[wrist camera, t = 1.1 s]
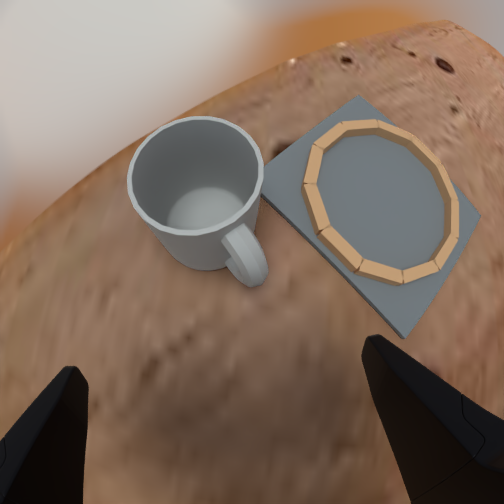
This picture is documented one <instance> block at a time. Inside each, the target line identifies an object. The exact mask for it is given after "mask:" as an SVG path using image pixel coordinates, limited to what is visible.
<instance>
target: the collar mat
mask: <svg viewBox="0 0 504 504" xmlns="http://www.w3.org/2000/svg"><path fill="white" fill-rule="evenodd" d="M440 163H441V161H440V160H439V159H438V158H437V157H436V156H435V155H434V154H433V153H432V152H431V151H430V150H429V149H428V148H427V147H426V146H425V145H424V144H423V143H422V142H421V141H420V140H419V139H418V138H417V137H415V136H414V135H413V136H412V134H411V133H409V132H407V131H405V130H402V129H400V128H398V127H397V126H396V125H395V124H393V123H392V122H391V121H390V120H389V119H388V118H386V117H385V116H384V115H383V114H382V113H381V112H379V111H378V110H377V109H376V108H375V107H373V106H372V105H371V104H370V103H368V102H367V101H366V100H365V99H363V98H362V97H361V96H359V95H358V96H356V97H355V98H353V99H352V100H351V101H349V102H348V103H346V104H345V105H344V106H342V107H341V108H340V109H338V110H337V111H335V112H334V113H333V114H331V115H330V116H329V117H327V118H326V119H325V120H323V121H322V122H321V123H319V124H318V125H317V126H315V127H314V128H313V129H311V130H310V131H309V132H307V133H306V134H305V135H303V136H302V137H301V138H300V139H298V140H297V141H296V142H294V143H293V144H292V145H291V146H289V147H288V148H287V149H285V150H284V151H283V152H282V153H280V154H279V155H278V156H277V157H275V158H274V159H273V160H272V161H270V162H269V163H268V164H267V165H265V166H264V169H263V184H262V190H261V197H262V198H264V199H265V200H266V201H267V202H268V203H269V204H270V205H271V206H272V207H273V208H274V209H275V210H276V211H277V212H278V213H279V214H280V215H281V216H282V217H283V218H285V219H286V220H287V221H288V222H289V223H290V224H291V225H292V226H293V227H294V228H295V229H296V230H297V231H298V232H299V233H300V234H301V235H302V236H303V237H304V238H305V239H306V240H307V241H308V242H309V243H310V244H311V245H312V246H313V247H314V248H315V249H316V250H317V251H318V252H319V253H320V254H321V255H322V256H323V257H324V258H325V259H326V260H327V261H328V262H329V263H330V264H331V265H332V266H333V267H334V268H335V269H336V270H337V271H338V272H339V273H340V274H341V275H342V276H343V277H344V278H345V279H346V280H347V281H348V282H349V283H350V284H351V285H352V286H353V287H354V288H355V289H356V290H357V292H358V293H359V294H360V295H361V296H362V297H363V298H364V299H365V300H366V301H367V302H368V303H369V304H370V305H371V306H372V307H373V308H374V309H375V310H376V311H377V313H378V314H379V315H380V316H381V317H382V318H383V319H384V320H385V321H386V322H387V323H388V324H389V325H390V326H391V328H392V329H393V330H394V331H395V332H396V333H397V334H398V335H399V336H400V337H401V338H402V339H405V338H406V337H407V336H408V334H409V333H410V332H411V330H412V329H413V328H414V326H415V325H416V323H417V322H418V321H419V319H420V318H421V316H422V315H423V314H424V312H425V311H426V309H427V308H428V306H429V305H430V303H431V302H432V300H433V299H434V297H435V296H436V294H437V293H438V291H439V290H440V288H441V286H442V285H443V283H444V282H445V280H446V278H447V277H448V275H449V273H450V272H451V270H452V268H453V267H454V265H455V263H456V262H457V260H458V258H459V256H460V255H461V253H462V251H463V249H464V247H465V246H466V244H467V242H468V240H469V238H470V236H471V234H472V233H473V231H474V229H475V227H476V225H477V223H478V221H479V219H480V217H481V215H480V214H479V212H478V211H477V210H476V209H475V207H474V206H473V205H472V204H471V203H470V201H469V200H468V199H467V198H466V197H465V195H464V194H463V193H462V192H461V191H460V190H459V189H458V187H457V186H456V185H455V184H454V183H453V182H452V181H451V180H450V178H449V176H448V174H447V172H446V170H445V168H444V166H443V164H440Z"/></svg>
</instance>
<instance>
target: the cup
mask: <svg viewBox="0 0 504 504" xmlns="http://www.w3.org/2000/svg"><path fill="white" fill-rule="evenodd" d="M263 169H264V163H263V160H262V156H261V153H260V150H259V148H258V146H257V145H256V143H255V142H254V140H253V139H252V138H251V136H250V135H249V134H247V133H246V132H245V131H244V130H243V129H241V128H240V127H239V126H237V125H235V124H233V123H231V122H229V121H226V120H224V119H220V118H215V117H210V116H192V117H187V118H183V119H178V120H175V121H173V122H171V123H168V124H166V125H164V126H162V127H160V128H159V129H157V130H156V131H155V132H153V133H152V134H151V135H149V136H148V137H147V138H146V139H145V140H144V142H143V143H142V144H141V145H140V146H139V147H138V149H137V150H136V152H135V154H134V156H133V158H132V160H131V162H130V166H129V171H128V176H127V185H128V194H129V197H130V199H131V202H132V204H133V206H134V208H135V210H136V211H137V212H138V214H139V215H140V216H141V218H142V219H143V220H144V221H145V223H146V224H147V225H148V227H149V228H150V229H151V230H152V232H153V233H154V234H155V235H156V237H157V238H158V239H159V241H160V242H161V243H162V244H163V246H164V247H165V248H166V249H167V250H168V251H169V253H170V254H171V255H172V256H173V257H174V258H175V259H176V260H177V261H179V262H180V263H182V264H184V265H185V266H187V267H190V268H193V269H196V270H207V271H212V270H216V269H221V268H224V267H226V266H227V267H228V269H229V270H230V271H231V272H232V274H233V275H234V276H235V277H236V278H237V279H238V280H239V281H240V282H242V283H243V284H245V285H246V286H248V287H255V286H260V285H262V284H263V282H264V280H265V279H266V277H267V275H268V273H269V272H268V265H267V261H266V258H265V255H264V252H263V249H262V247H261V245H260V243H259V241H258V240H257V238H256V237H255V235H254V230H255V225H256V219H257V214H258V208H259V202H260V196H261V190H262V184H263Z"/></svg>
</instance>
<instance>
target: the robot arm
mask: <svg viewBox="0 0 504 504" xmlns="http://www.w3.org/2000/svg"><path fill="white" fill-rule="evenodd" d="M361 357H362V362H363V366H364V369H365V373H366V376H367V380H368V384H369V387H370V391H371V395H372V398H373V401H374V404H375V407H376V409H377V412H378V414H379V417H380V419H381V422H382V424H383V427H384V429H385V432H386V435H387V437H388V440H389V443H390V445H391V448H392V451H393V453H394V456H395V459H396V461H397V464H398V467H399V470H400V472H401V475H402V478H403V481H404V484H405V487H406V490H407V492H408V495H409V498H410V501H411V504H504V420H502V419H501V418H499V417H497V416H495V415H494V414H492V413H490V412H489V411H487V410H485V409H484V408H482V407H481V406H479V405H478V404H476V403H475V402H473V401H472V400H470V399H469V398H468V397H466V396H465V395H464V394H461V392H459V391H458V390H457V389H455V388H454V387H452V386H451V385H450V384H448V383H447V382H445V381H444V380H443V379H441V378H440V377H439V376H437V375H436V374H434V373H433V372H432V371H430V370H429V369H427V368H426V367H425V366H423V365H422V364H421V363H419V362H418V361H416V360H415V359H414V358H412V357H411V356H409V355H408V354H407V353H405V352H404V351H402V350H401V349H400V348H398V347H397V346H395V345H394V344H393V343H391V342H390V341H389V340H387V339H386V338H384V337H383V336H381V335H379V334H376V335H372V336H368V337H367V338H366V340H365V344H364V347H363V350H362V355H361ZM88 391H89V387H88V383H87V380H86V379H85V378H84V376H83V375H82V373H81V371H80V370H79V369H78V367H76V366H65V367H64V368H63V369H62V370H61V371H60V372H59V373H58V374H57V375H56V377H55V378H54V379H53V380H52V381H51V382H50V383H49V384H48V385H47V387H46V388H45V389H44V390H43V391H42V392H41V393H40V395H39V396H38V397H37V398H36V399H35V400H34V401H33V403H32V404H31V405H30V406H29V407H28V408H27V410H26V411H25V412H24V413H23V414H22V415H21V417H20V418H19V419H18V420H17V421H16V423H15V424H14V425H13V426H12V427H11V429H10V430H9V431H8V432H7V433H6V435H5V436H4V437H3V438H2V439H1V441H0V504H83V482H84V464H85V451H86V440H87V429H88Z"/></svg>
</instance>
